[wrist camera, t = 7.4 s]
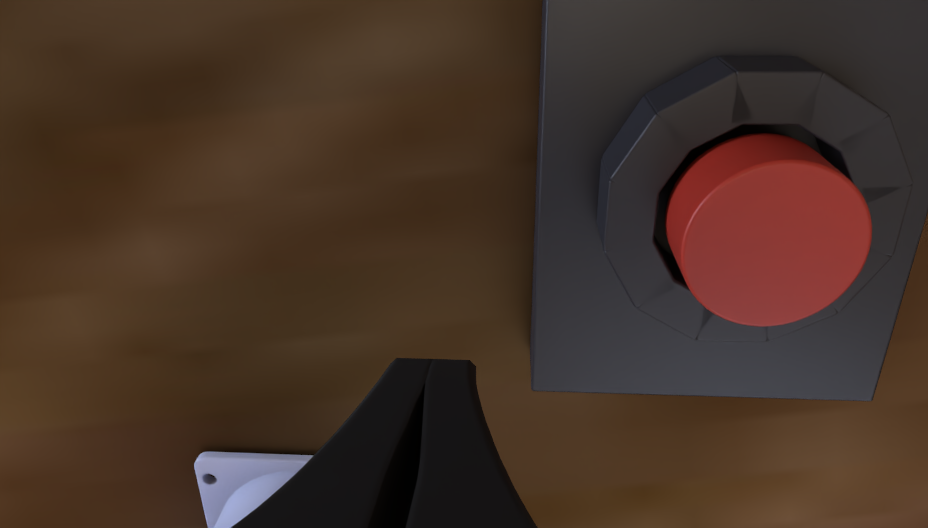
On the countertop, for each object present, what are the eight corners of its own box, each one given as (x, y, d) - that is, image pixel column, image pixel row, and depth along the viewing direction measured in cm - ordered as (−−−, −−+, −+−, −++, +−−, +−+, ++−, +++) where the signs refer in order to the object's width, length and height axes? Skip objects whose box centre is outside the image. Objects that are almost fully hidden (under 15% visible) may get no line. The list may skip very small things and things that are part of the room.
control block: (843, 360, 23) (902, 443, 20) (529, 351, 24) (532, 430, 20) (961, -91, 18) (1075, -89, 14) (545, -87, 18) (552, -84, 15)
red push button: (817, 287, 18) (850, 330, 17) (655, 284, 19) (670, 326, 17) (853, 132, 17) (894, 161, 15) (674, 130, 17) (693, 159, 15)
